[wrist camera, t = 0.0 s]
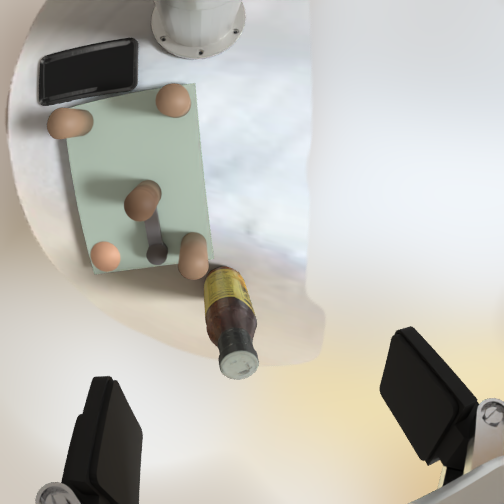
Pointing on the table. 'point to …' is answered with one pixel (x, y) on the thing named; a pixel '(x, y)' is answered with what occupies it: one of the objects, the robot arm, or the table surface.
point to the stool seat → (138, 176)
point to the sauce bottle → (231, 322)
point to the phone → (89, 71)
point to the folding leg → (148, 217)
